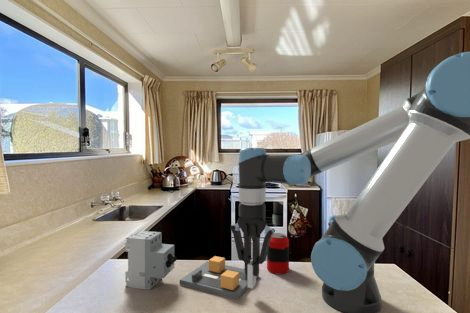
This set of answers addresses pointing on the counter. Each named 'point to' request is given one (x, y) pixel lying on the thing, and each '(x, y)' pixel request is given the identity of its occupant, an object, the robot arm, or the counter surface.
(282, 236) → the soda can
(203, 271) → the switch board
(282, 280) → the counter surface
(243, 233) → the robot arm
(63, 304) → the counter surface
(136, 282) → the circuit breaker
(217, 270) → the tab
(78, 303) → the counter surface
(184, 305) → the counter surface
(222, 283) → the tab
